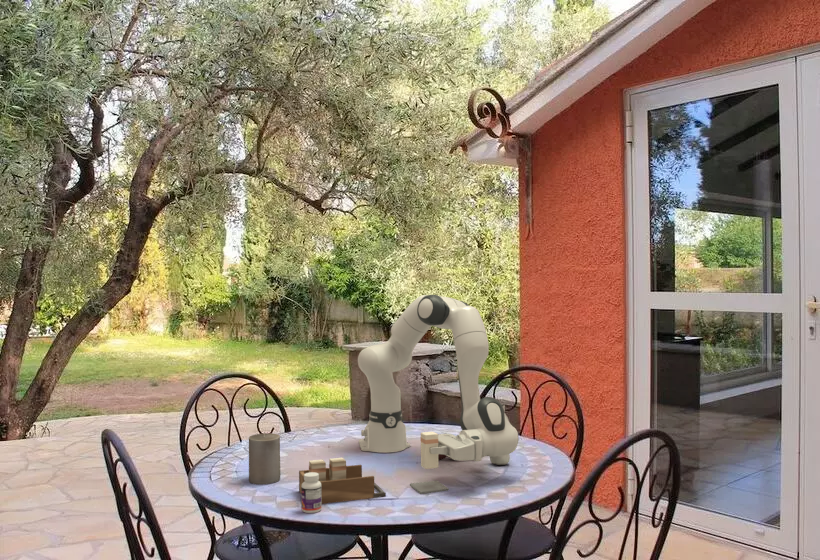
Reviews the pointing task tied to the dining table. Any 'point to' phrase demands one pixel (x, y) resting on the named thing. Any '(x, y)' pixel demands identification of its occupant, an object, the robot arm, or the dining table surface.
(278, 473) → the pillar candle
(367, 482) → the dispenser
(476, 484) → the dining table surface
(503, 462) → the plastic bottle
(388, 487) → the dining table surface
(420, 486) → the pad
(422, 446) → the banded cream pillar
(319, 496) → the pill bottle
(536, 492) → the dining table surface
